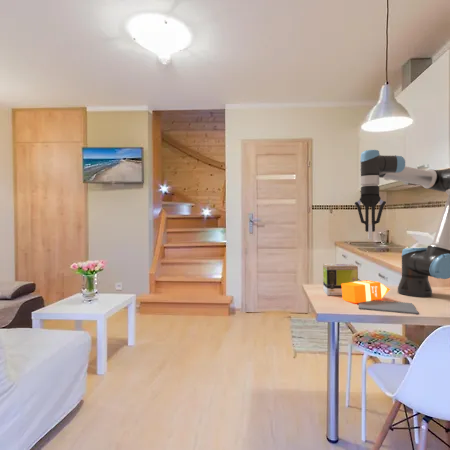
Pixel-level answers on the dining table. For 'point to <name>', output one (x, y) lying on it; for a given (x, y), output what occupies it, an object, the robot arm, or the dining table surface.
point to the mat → (388, 306)
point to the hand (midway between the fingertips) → (370, 239)
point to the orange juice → (363, 291)
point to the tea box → (338, 277)
